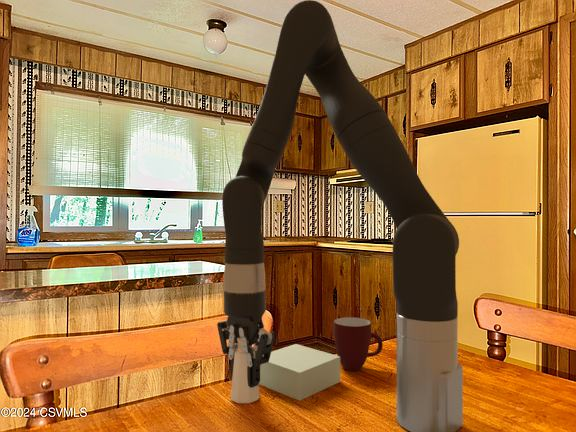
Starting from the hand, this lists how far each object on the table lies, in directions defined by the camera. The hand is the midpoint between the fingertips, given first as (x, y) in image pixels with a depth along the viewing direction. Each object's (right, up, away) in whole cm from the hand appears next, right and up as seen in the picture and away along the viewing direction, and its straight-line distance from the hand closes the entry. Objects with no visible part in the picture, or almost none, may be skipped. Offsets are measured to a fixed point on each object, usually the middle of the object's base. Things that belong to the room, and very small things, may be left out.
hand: (245, 382), depth 77 cm
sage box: (+10, -3, +7) cm, 12 cm away
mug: (+23, -3, +15) cm, 28 cm away
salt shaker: (0, -3, 0) cm, 3 cm away
